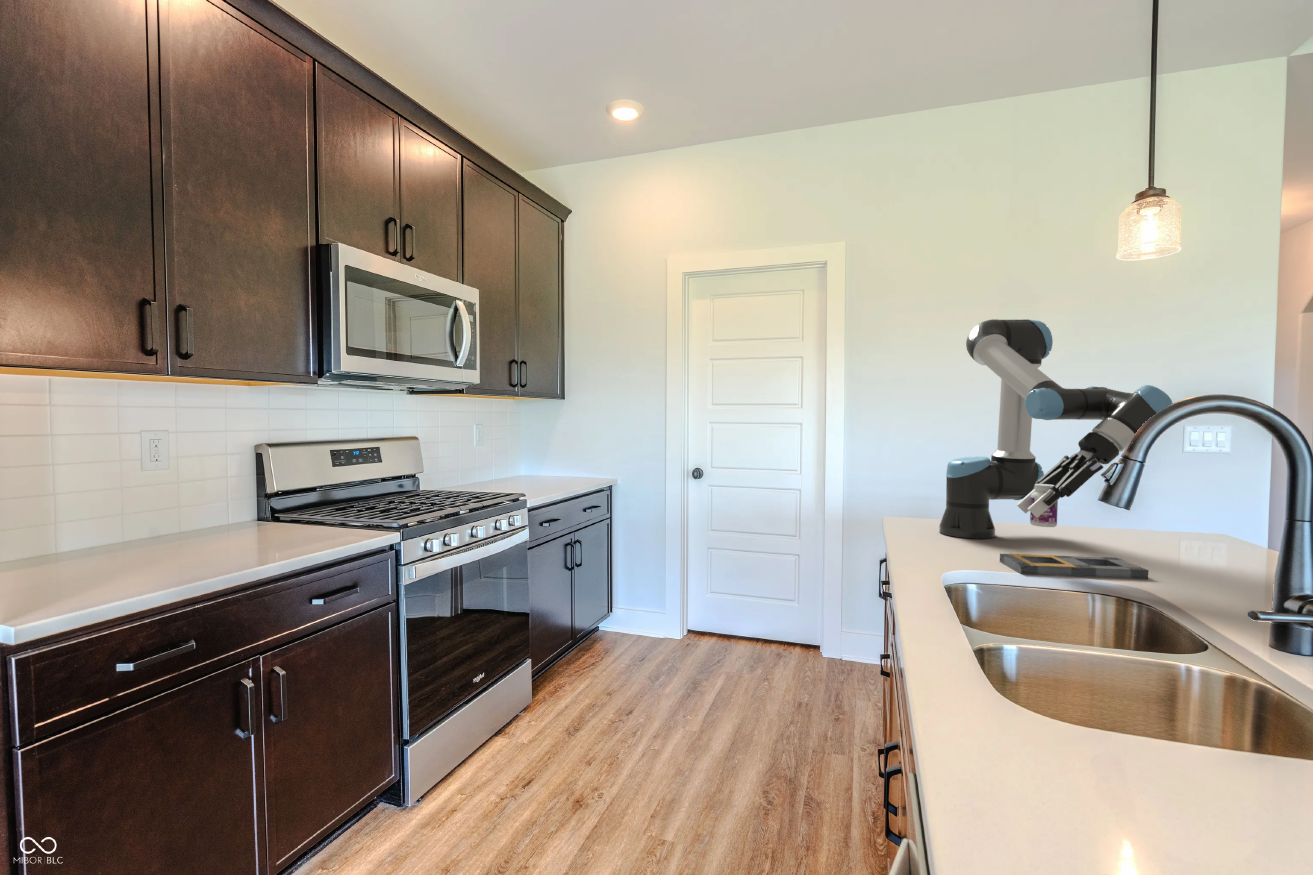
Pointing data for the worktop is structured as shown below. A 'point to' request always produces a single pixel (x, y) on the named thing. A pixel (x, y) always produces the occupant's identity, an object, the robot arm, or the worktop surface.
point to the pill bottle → (1050, 514)
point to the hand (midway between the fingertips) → (1026, 510)
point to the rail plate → (1073, 566)
